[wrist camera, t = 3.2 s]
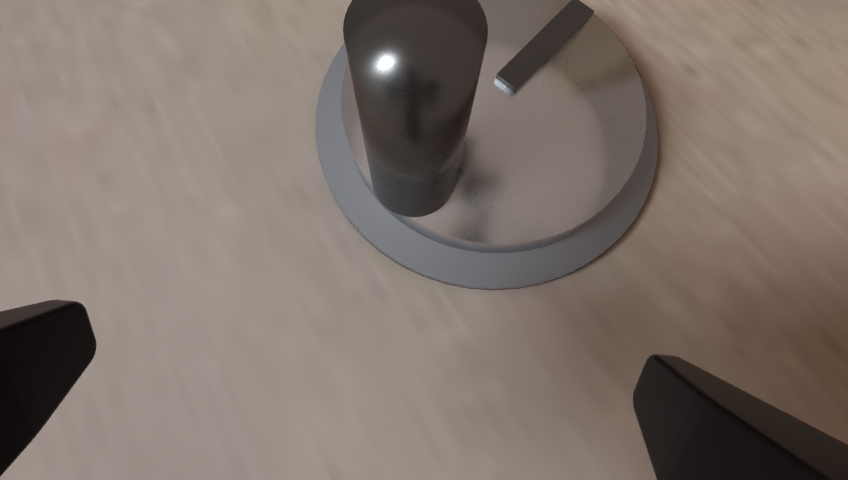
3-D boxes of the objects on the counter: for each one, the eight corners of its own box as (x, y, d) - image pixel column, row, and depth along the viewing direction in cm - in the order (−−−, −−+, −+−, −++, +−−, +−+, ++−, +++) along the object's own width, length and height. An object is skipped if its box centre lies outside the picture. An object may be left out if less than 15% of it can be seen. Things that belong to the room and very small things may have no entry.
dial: (472, -43, 26) (511, -315, 16) (685, 109, 24) (893, -97, 13) (280, 126, 23) (175, -81, 13) (505, 323, 20) (601, 263, 10)
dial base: (306, 289, 21) (296, 280, 19) (329, -31, 27) (322, -63, 25) (676, 291, 22) (702, 282, 20) (627, -24, 27) (643, -55, 25)
